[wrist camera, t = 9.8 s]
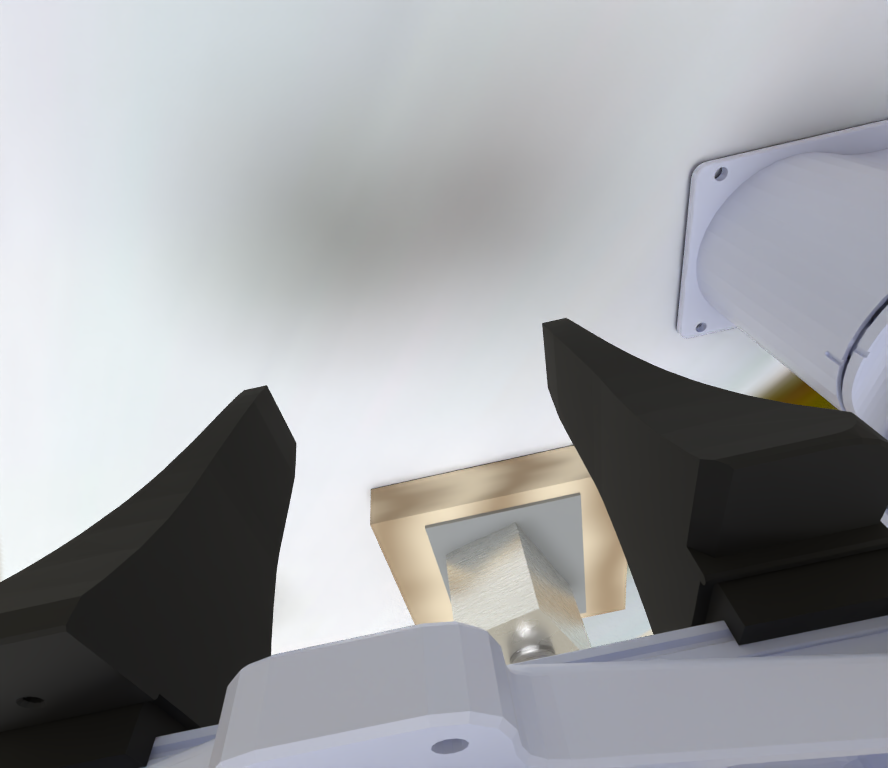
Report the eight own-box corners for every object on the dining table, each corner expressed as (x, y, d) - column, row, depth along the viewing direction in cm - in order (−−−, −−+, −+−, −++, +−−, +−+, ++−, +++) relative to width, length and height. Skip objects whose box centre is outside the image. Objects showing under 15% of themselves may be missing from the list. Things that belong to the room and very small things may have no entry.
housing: (515, 521, 27) (545, 629, 22) (570, 587, 31) (606, 689, 26) (445, 554, 28) (458, 664, 23) (508, 613, 32) (531, 716, 27)
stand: (612, 436, 28) (632, 471, 26) (611, 576, 36) (626, 611, 34) (371, 489, 28) (370, 527, 26) (424, 615, 36) (426, 653, 34)
